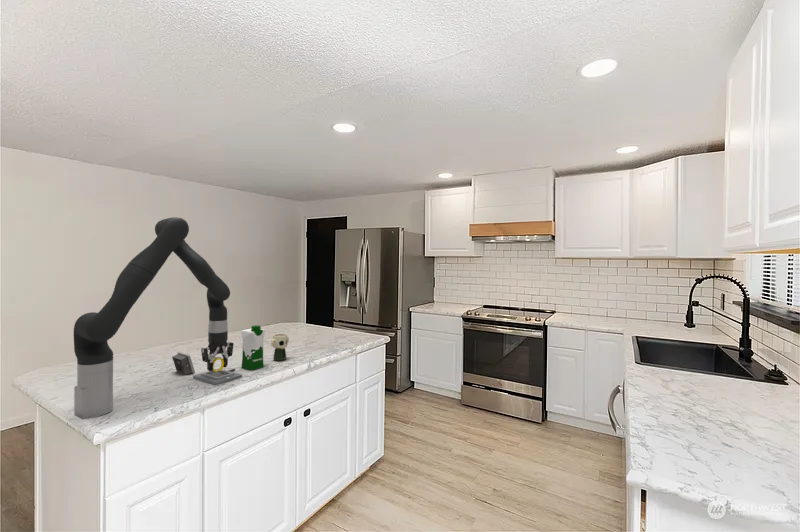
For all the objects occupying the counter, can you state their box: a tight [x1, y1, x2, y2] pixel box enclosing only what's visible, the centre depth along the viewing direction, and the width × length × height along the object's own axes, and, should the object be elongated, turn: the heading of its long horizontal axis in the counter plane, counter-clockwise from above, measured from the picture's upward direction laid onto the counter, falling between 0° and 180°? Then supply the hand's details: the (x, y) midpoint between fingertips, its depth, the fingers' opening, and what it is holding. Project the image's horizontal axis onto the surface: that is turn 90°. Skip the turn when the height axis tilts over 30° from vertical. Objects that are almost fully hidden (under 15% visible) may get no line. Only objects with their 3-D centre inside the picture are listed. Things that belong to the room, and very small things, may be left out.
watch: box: [213, 356, 225, 372], centre depth 159 cm, size 6×3×6 cm, turn 160°
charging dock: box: [192, 368, 243, 386], centre depth 162 cm, size 17×16×2 cm
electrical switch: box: [171, 351, 196, 376], centre depth 164 cm, size 9×5×9 cm, turn 57°
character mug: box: [270, 332, 290, 361], centre depth 189 cm, size 11×7×13 cm, turn 149°
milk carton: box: [240, 324, 266, 371], centre depth 175 cm, size 9×9×20 cm
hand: (217, 368), depth 159 cm, fingers closed on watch, 6 cm apart
